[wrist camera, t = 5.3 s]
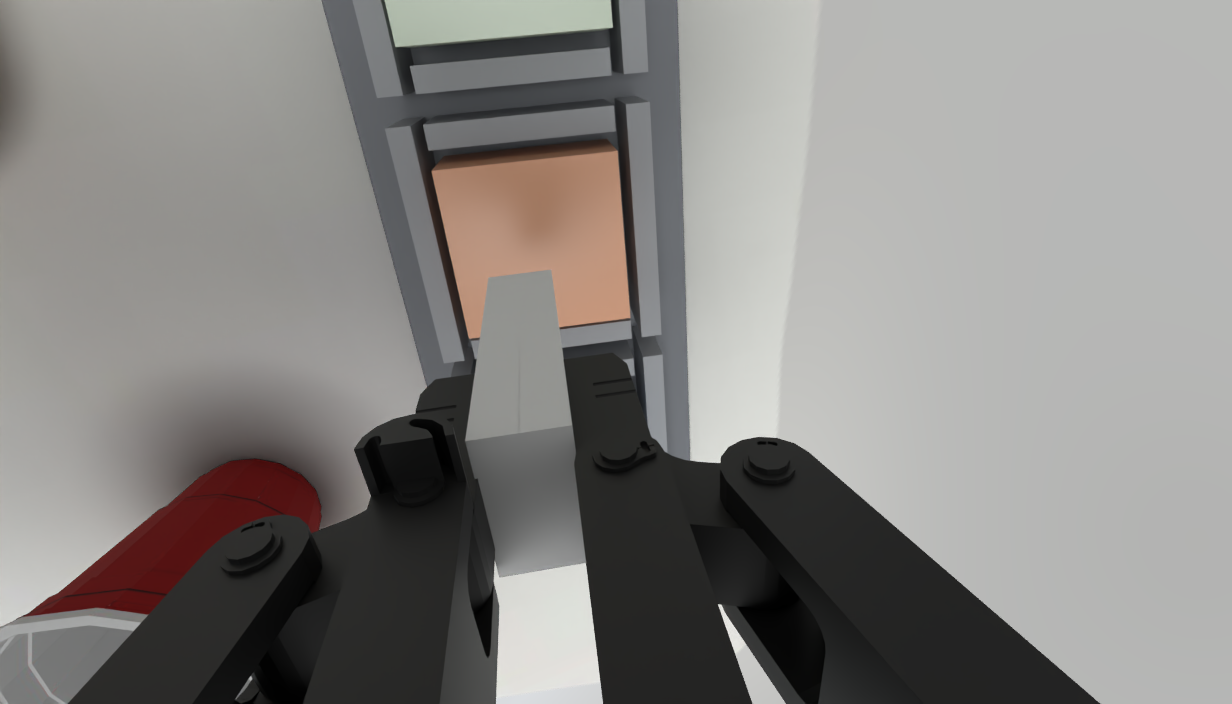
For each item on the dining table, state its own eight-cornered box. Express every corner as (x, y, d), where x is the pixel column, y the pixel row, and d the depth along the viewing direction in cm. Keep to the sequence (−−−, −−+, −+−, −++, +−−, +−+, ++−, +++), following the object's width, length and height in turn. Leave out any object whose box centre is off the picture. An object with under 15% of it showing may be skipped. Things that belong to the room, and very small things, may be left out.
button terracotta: (443, 156, 21) (431, 170, 19) (607, 138, 22) (617, 151, 19) (475, 307, 24) (468, 338, 21) (619, 289, 24) (630, 318, 22)
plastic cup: (375, 417, 28) (279, 642, 17) (375, 579, 33) (300, 834, 22) (115, 399, 26) (-174, 641, 15) (156, 575, 30) (-43, 854, 20)
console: (117, -795, 13) (-36, -1108, 10) (646, -786, 14) (684, -1069, 10) (463, 500, 31) (455, 558, 27) (686, 466, 32) (705, 518, 28)
